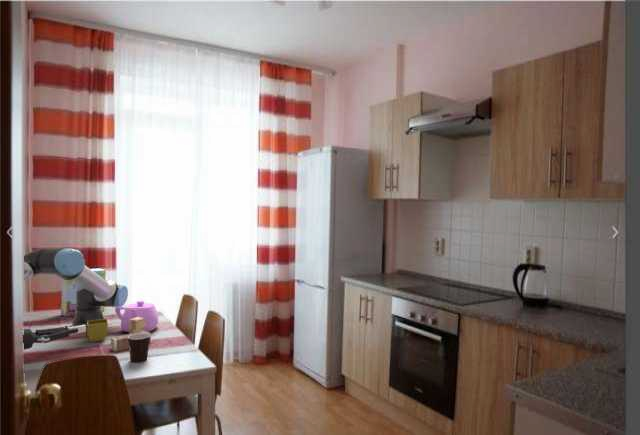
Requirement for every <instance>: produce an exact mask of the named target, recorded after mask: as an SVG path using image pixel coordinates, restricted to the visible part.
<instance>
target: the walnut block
mask: <svg viewBox="0 0 640 435" xmlns="http://www.w3.org/2000/svg"><path fill="white" fill-rule="evenodd" d="M139 333H146V334H150V342H149V345H150V344H151V343H152V342H151V336H152V334H151V332H150V331H148V332H147V331H143V332H138V333H132V334H129V333H128V334H123V335H117V336H114V337H113V336H112V337H111V338H110V349H111V350H112V351H114V352H118V351H122V350H123V351H124V350H129V349H128V348H129V342H128V336H130V335H133V334H139Z"/></svg>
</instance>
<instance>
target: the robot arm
mask: <svg viewBox="0 0 640 435" xmlns="http://www.w3.org/2000/svg"><path fill="white" fill-rule="evenodd" d="M23 256H24V281H25V280H30V279H32V278H33V277H35V276H37V275H54V276H55V275H56V276H57V277H59V278H61V279H64V280H72V281H74V282H75V283H77V284H78V285H77V291H76V314H75V316H73V320H72V323H71V324H72V326H71V327H70V326H69V327H68V326H67V325H64V327H63V326H62V327H53V328H52V327H51V328H44V329H36V330H35V331H34V332H33V331H32V329H30V328H26V329H23V330H24V335H23V343H24V350H28V349H31V348H32V347H33V345H34V344H35V343H37V344H39V343H40V344H41V343H44V344H47V343H49V342H53V341H57V340H60V339H65V338H70V335H76V334H80V333H86V332H87V321H89V320H99V319H105V317H104V314H103V311H101V306H104V307H108V308H114V309H115V308H116V307H124V305H125V304H126V303H127V300H128V296H129V289H128V287H127V285H124V284H117V283H116V282H115V281H113V280H111V279H106V278H105V279H103V278H102V277H101V276H99V275H98V274H96V273H95V272H94V271H92V270H91V269H92V268H90V267H88V266H86V263H85V262H86V259H85V258H84V257H85V256H84V254H83V253H82V252H81V251H80V250H78V249H74V248H68V247H67V248H56V247H54V248H53V247H52V248H51V247H42V248H41V247H40V248H38V249H35V250H32V251H30V252H28V253H26V254H24V255H23Z"/></svg>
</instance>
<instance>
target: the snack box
mask: <svg viewBox="0 0 640 435" xmlns="http://www.w3.org/2000/svg"><path fill="white" fill-rule="evenodd" d="M90 269H91V270H92V271H94V272H95V273H96V274H98V275H99V276H101V277H102V278H103V279H105V280H106V273H107V272H106V269H103V268H90ZM61 279H62V278H61ZM77 285H78V284H77V283H75V282H74V281H72V280H64V279H62V282H61V302H60V303H61V305H60V315H61V316H63V317H65V318H66V317H67V318H68V317H74V316H75V314H76V291H77ZM101 311H102V312H105V306H101Z"/></svg>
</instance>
